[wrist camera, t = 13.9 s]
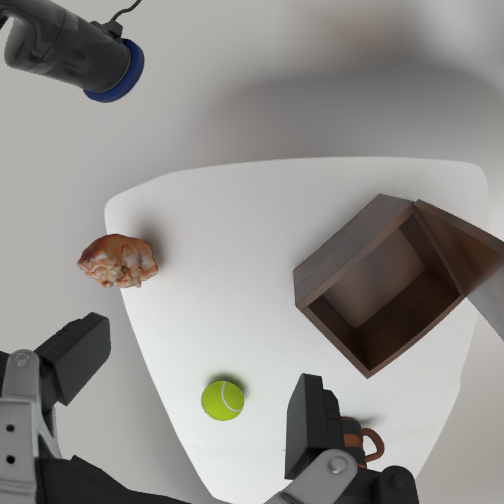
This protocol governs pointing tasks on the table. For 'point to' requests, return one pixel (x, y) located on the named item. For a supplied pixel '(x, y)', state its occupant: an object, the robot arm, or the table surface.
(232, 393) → the tennis ball
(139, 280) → the figurine
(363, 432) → the mug
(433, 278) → the chest
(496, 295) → the lid
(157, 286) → the table surface
